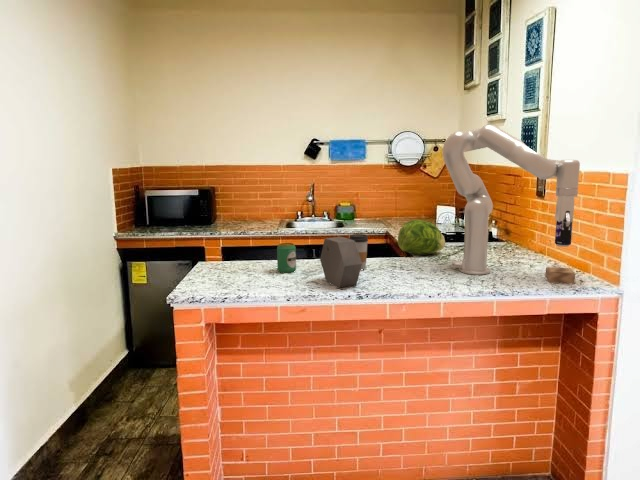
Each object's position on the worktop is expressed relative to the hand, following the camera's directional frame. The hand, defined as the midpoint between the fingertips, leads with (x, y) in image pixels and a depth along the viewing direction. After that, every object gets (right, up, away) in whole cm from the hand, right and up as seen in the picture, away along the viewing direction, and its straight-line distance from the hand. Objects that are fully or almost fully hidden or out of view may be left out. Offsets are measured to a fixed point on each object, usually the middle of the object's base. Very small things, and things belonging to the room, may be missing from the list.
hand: (563, 238), depth 190 cm
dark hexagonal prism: (-87, -18, +1) cm, 89 cm away
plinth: (0, -17, +3) cm, 17 cm away
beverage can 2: (0, -3, +1) cm, 3 cm away
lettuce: (-44, -8, +56) cm, 71 cm away
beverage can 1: (-109, -15, +21) cm, 112 cm away
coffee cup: (-78, -14, +24) cm, 83 cm away
